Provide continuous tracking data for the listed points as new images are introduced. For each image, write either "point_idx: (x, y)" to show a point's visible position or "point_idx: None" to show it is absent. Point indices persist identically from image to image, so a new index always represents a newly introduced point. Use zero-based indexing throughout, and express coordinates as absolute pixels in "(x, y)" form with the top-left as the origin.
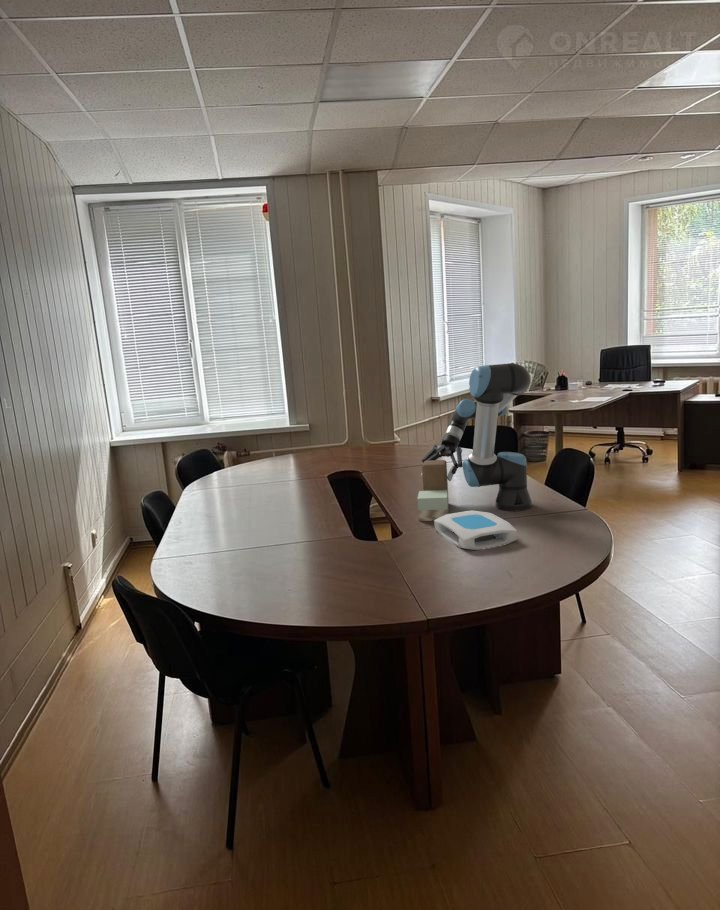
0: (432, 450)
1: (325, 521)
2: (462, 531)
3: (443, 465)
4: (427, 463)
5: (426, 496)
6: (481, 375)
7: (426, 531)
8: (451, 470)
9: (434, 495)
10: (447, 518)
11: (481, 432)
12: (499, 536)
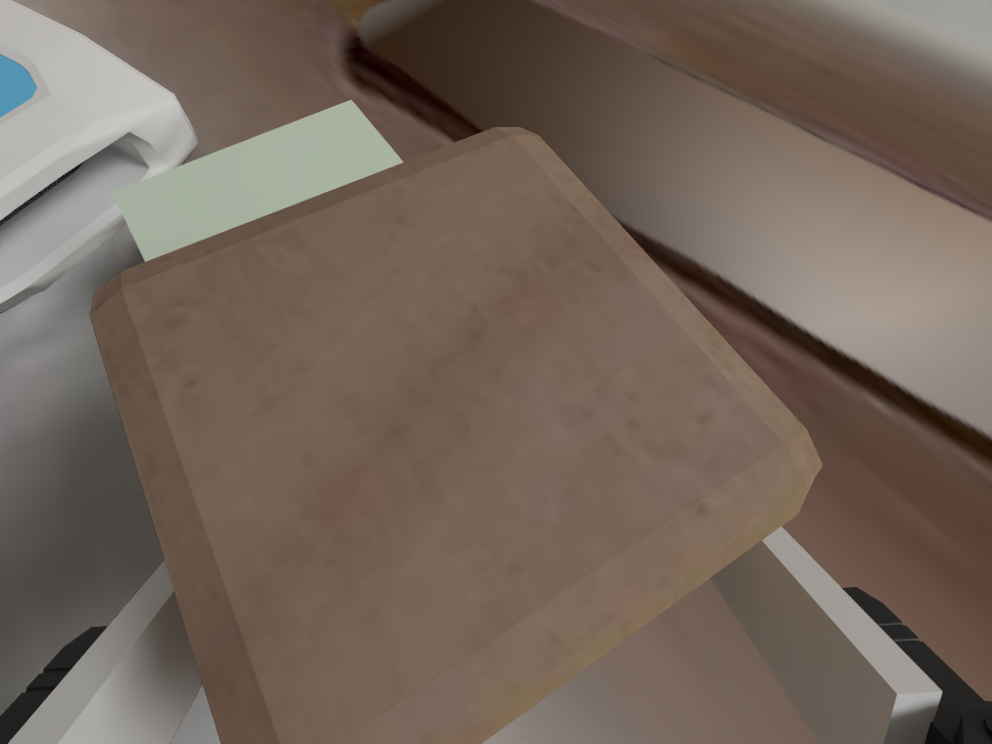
0: None
1: (813, 62)
2: None
3: (105, 287)
4: (509, 221)
5: (310, 158)
6: None
7: (248, 133)
8: (116, 627)
9: (255, 200)
10: (63, 74)
11: None
12: None
